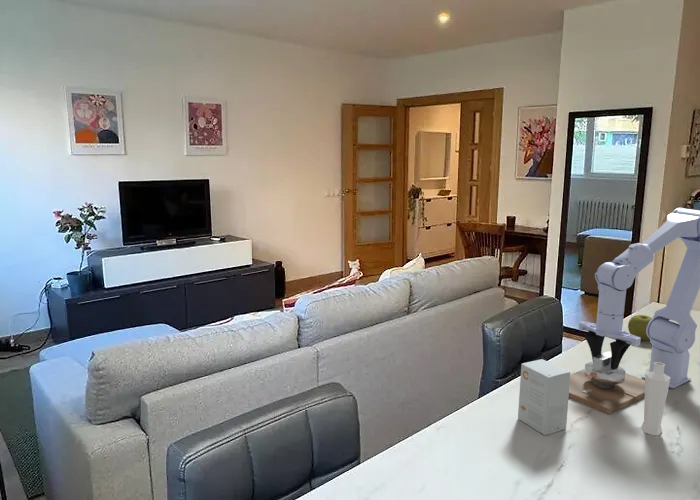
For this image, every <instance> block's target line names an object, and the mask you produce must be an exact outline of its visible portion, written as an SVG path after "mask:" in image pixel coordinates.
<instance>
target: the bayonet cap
mask: <svg viewBox="0 0 700 500" xmlns="http://www.w3.org/2000/svg"><path fill="white" fill-rule="evenodd" d="M584 369H585V371H584V374H585V376H586V377H587V378H589V379H591V380H593V381H596V382H599V383H603V384H621V383H623V382H624V381H625V373H626V370H625V369H624V368H623V367H622V366H620V365H619V366H618V368H617V369H615V370H612V369H611V350H608V351H606V352H605V351H604V352H603V353H602V352H601V354H600V355H597V356H595V357H593V360H592V361H589V362H587V363H585V364H584Z"/></svg>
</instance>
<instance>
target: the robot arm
mask: <svg viewBox="0 0 700 500" xmlns="http://www.w3.org/2000/svg"><path fill="white" fill-rule="evenodd" d="M677 239H680V240H681V242H683V243H684V245H685V247H686V251H685V254H684V257H683V258H682V262H681V264H680V266H679V270H678V273H677V276H676V278H675V281H674V284H673V286H672V289H671V291H670V295H669V298H668V300H667V302H666V305H665V307H662V308H661V309H658V310H655V312H654V314H653V317H651V318H652V319H651V320H650V321H649V323H648V325H647V328H646V333H647V336H648V337H649V338H650V339H649V340H650V341H649V342H650V344H652V345H651V350H650V351H651V352H650V361H649V369H648V372H652V371H653V369H654V362H660V363H663V364H665V366H664V374H666V375H667V376H669V377H671V379H670V383H669V388H671V389H676V388H677V387H680V386H681V385H684V384H685V383H687V382H689V381H691V380H692V379H691V377H689V376H688V372H689V364H690V351H689V350H690V349H691V348H692V347H693V345H694V344H695V341H696V330H697V327H698V324H697V323H696V321H695V320H694V319H693V317H692V315H691V313H692V310H693V307H694V305H695V302H696V299H697V296H698V294H699V290H700V210H698V209H691V208H684V207H677V208H675V209H674V210H673V211H672V212H671V213H669V214H667V215H666V219H665V222H664V223H663V224H662V225H661V226H660V227H658V228H657V230H655V232H654V233H652V234H651V235H650V236H649V237H648V238H646V239H645V240H644V241H643V243H639V242H637V243H632V244H630V245H628V248H627V249H626V250H624V251H623V252H622V253H620V254H619V255H618V256H616V257H615V258H614V259H613V260H612V261H608V262H607V261H606V262H604V263H602V264H600V265H599V267H598V268H597V269H596V272H595V273H594V280H595V281H596V283H597V290H598V291H599V292H598V301H597V302H598V303H597V310H596V311H597V313H596V323H594V322H589V321H585V320H584V321H579V322H578V330H579V331H582V332H583V331H585V332H587V334H585V335H584V339H585V340H586V342H587V344H588V347H589V350H590V355H591V359H592V361H593V357H595V356H597V355H600V354H602V350H603V349H602V348H603V345H604V341H605V338H607V339H611V340H614V341H613V342H610V343H609V345H610V351H611V369H612V370H615V369H617V368H618V366H620V363H621V362H622V361H621V360H622V358H624V357H623V356H624V355H625V353H626V352H627V350H628V349H629V347H635V348H637V347H639V346H641V341H642V340H641V338H640V337H637V336H634V335H632V334H630V332H629V331H625V330H623V324H624V313H625V305H626V296H627V295H626V294H627V289H629V288H630V287H631V286H632V285H633V283H634V281H635V279H636V277H637V275H638V273H640V272H642V271H643V270H644V269H645V268H646V267H648V266H649V265H650V264H652V263H653V261H654V255H655V254H656V253H658V251H661V250H662V249H663V248H665V247H667V246H668V245H669V244H671V243H672V242H674V241H675V240H677ZM641 379H643V380H645V373H644V374H643V375H641Z"/></svg>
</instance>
